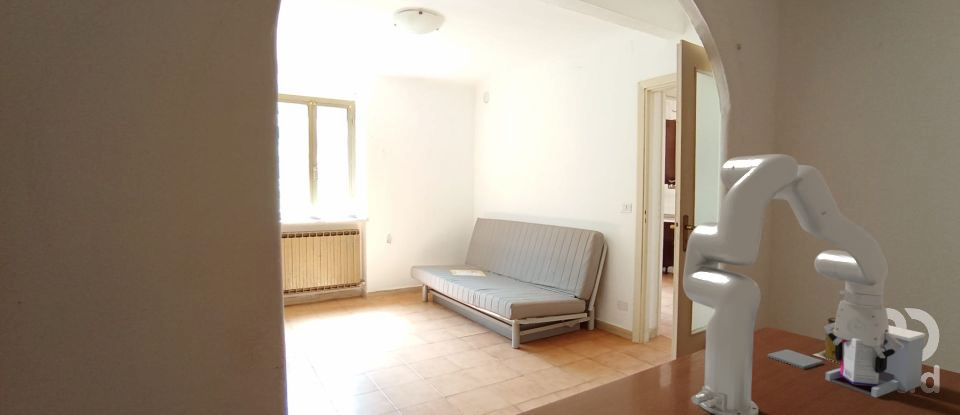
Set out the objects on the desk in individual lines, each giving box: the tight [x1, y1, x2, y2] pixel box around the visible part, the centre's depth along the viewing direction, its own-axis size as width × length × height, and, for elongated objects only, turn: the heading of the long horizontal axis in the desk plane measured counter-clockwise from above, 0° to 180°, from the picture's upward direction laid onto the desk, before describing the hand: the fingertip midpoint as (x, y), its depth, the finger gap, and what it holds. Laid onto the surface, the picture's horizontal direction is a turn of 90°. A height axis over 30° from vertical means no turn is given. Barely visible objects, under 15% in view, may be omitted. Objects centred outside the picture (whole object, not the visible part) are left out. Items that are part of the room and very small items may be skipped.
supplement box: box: [840, 338, 879, 387], centre depth 115 cm, size 6×6×12 cm
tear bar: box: [829, 379, 872, 397], centre depth 114 cm, size 1×9×1 cm, turn 26°
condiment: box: [812, 317, 841, 363], centre depth 134 cm, size 7×8×12 cm
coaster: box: [766, 348, 824, 370], centre depth 132 cm, size 10×10×1 cm
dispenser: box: [824, 324, 926, 398], centre depth 118 cm, size 19×14×14 cm
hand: (859, 365), depth 116 cm, fingers closed on supplement box, 7 cm apart
